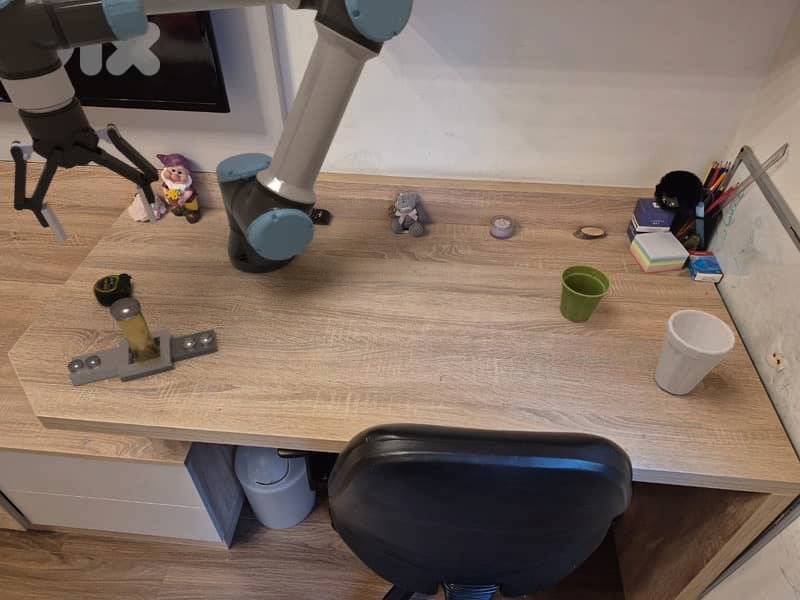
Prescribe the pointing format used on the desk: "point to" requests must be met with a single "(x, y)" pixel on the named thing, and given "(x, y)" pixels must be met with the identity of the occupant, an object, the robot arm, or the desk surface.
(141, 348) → the link pin
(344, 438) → the desk surface
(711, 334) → the cup
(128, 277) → the tape measure
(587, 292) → the plant pot
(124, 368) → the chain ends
